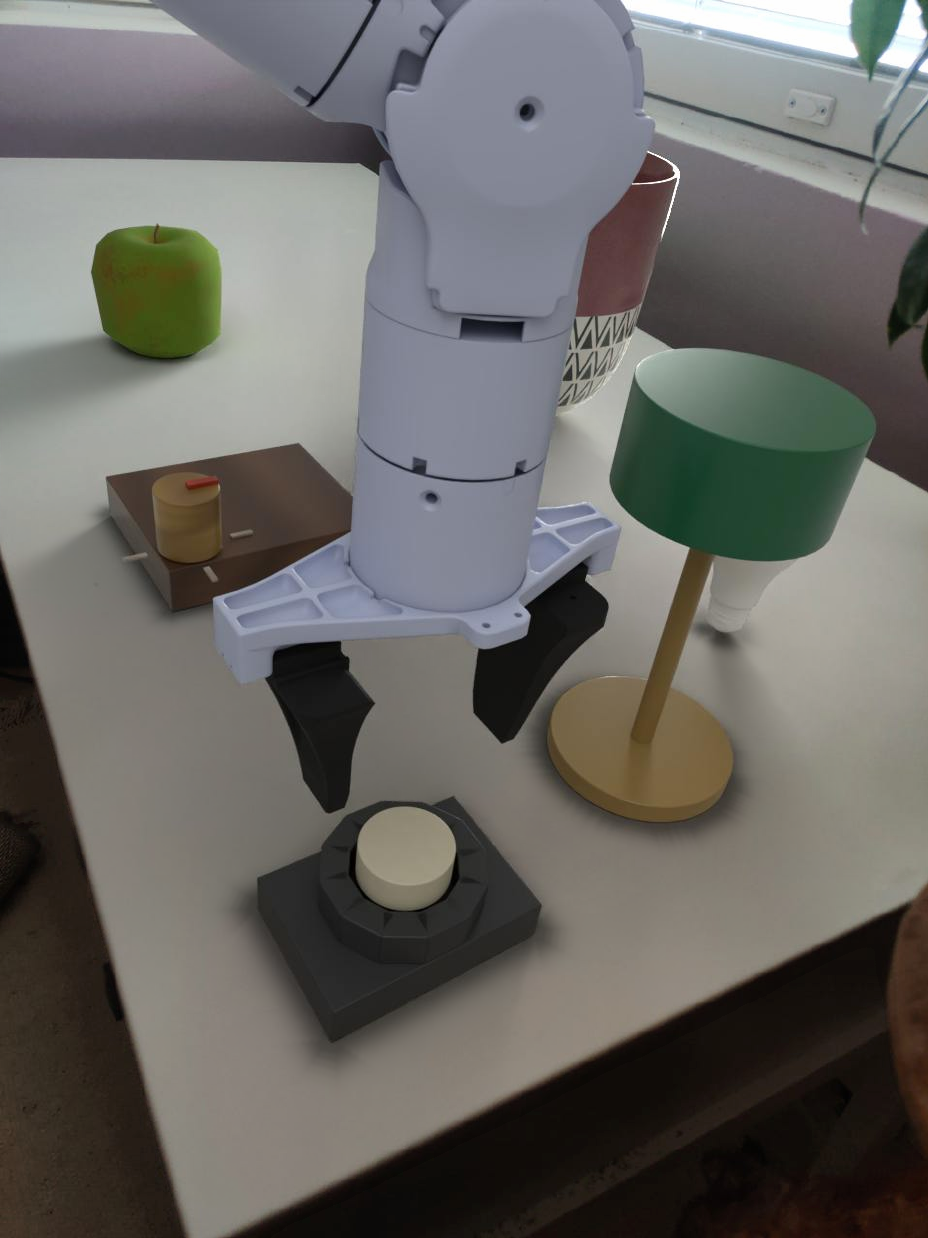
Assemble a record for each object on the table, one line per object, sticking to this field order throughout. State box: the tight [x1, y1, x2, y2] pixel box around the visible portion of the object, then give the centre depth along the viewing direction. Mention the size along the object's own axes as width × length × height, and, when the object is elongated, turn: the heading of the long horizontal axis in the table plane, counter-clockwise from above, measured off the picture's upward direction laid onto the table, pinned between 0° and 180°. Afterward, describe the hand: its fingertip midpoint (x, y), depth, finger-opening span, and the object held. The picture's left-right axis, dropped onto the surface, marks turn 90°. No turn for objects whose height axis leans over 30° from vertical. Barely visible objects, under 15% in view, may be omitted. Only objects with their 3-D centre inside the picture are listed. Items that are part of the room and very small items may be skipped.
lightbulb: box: [705, 555, 800, 633], centre depth 58 cm, size 6×6×11 cm
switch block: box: [256, 795, 543, 1043], centre depth 40 cm, size 10×7×4 cm
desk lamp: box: [546, 347, 877, 823], centre depth 45 cm, size 10×10×21 cm
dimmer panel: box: [105, 442, 353, 612], centre depth 61 cm, size 16×14×3 cm
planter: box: [556, 151, 680, 417], centre depth 79 cm, size 20×20×21 cm
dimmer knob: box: [152, 472, 222, 563], centre depth 55 cm, size 4×4×4 cm
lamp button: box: [355, 807, 456, 911], centre depth 38 cm, size 4×4×2 cm
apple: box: [90, 223, 223, 359], centre depth 84 cm, size 11×11×11 cm
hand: (413, 757), depth 36 cm, fingers open, 7 cm apart
